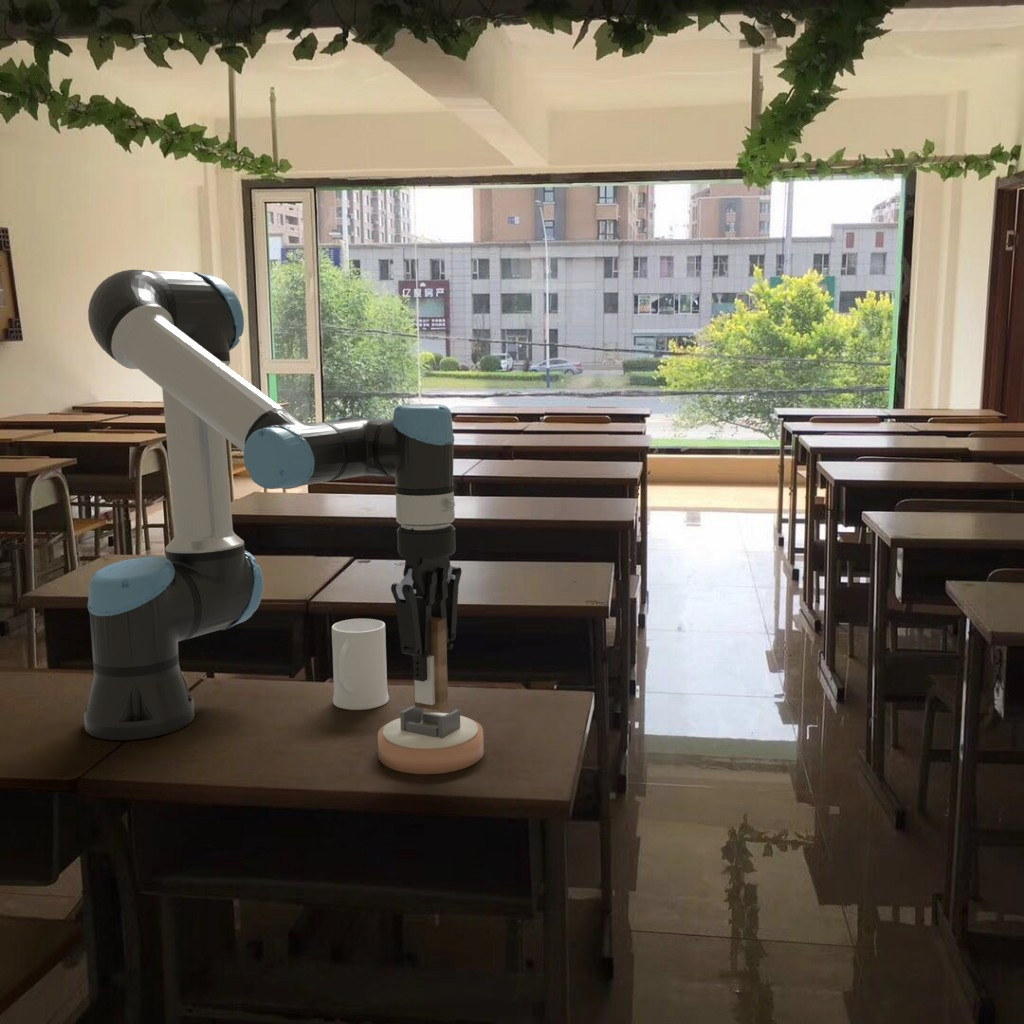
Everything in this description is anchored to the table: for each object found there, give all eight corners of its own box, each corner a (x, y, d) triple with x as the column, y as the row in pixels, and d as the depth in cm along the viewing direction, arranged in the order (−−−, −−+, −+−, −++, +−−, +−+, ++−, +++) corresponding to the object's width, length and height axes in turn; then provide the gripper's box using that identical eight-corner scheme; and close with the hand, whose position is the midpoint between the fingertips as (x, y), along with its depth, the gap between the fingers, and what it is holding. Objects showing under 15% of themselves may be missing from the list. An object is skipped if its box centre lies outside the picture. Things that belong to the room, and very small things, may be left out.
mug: (362, 720, 156) (360, 640, 155) (311, 714, 159) (308, 635, 157) (398, 695, 167) (396, 620, 166) (349, 689, 170) (347, 616, 168)
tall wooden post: (414, 706, 143) (411, 618, 141) (423, 701, 144) (420, 615, 143) (439, 711, 141) (437, 621, 139) (448, 706, 142) (445, 618, 141)
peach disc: (357, 761, 141) (355, 718, 140) (417, 727, 153) (416, 688, 152) (446, 782, 134) (446, 737, 133) (502, 745, 146) (502, 703, 145)
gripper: (417, 536, 131) (422, 721, 134) (480, 517, 143) (484, 687, 147) (367, 531, 134) (373, 712, 138) (433, 514, 147) (438, 680, 151)
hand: (430, 699), depth 142 cm, fingers closed on tall wooden post, 2 cm apart
